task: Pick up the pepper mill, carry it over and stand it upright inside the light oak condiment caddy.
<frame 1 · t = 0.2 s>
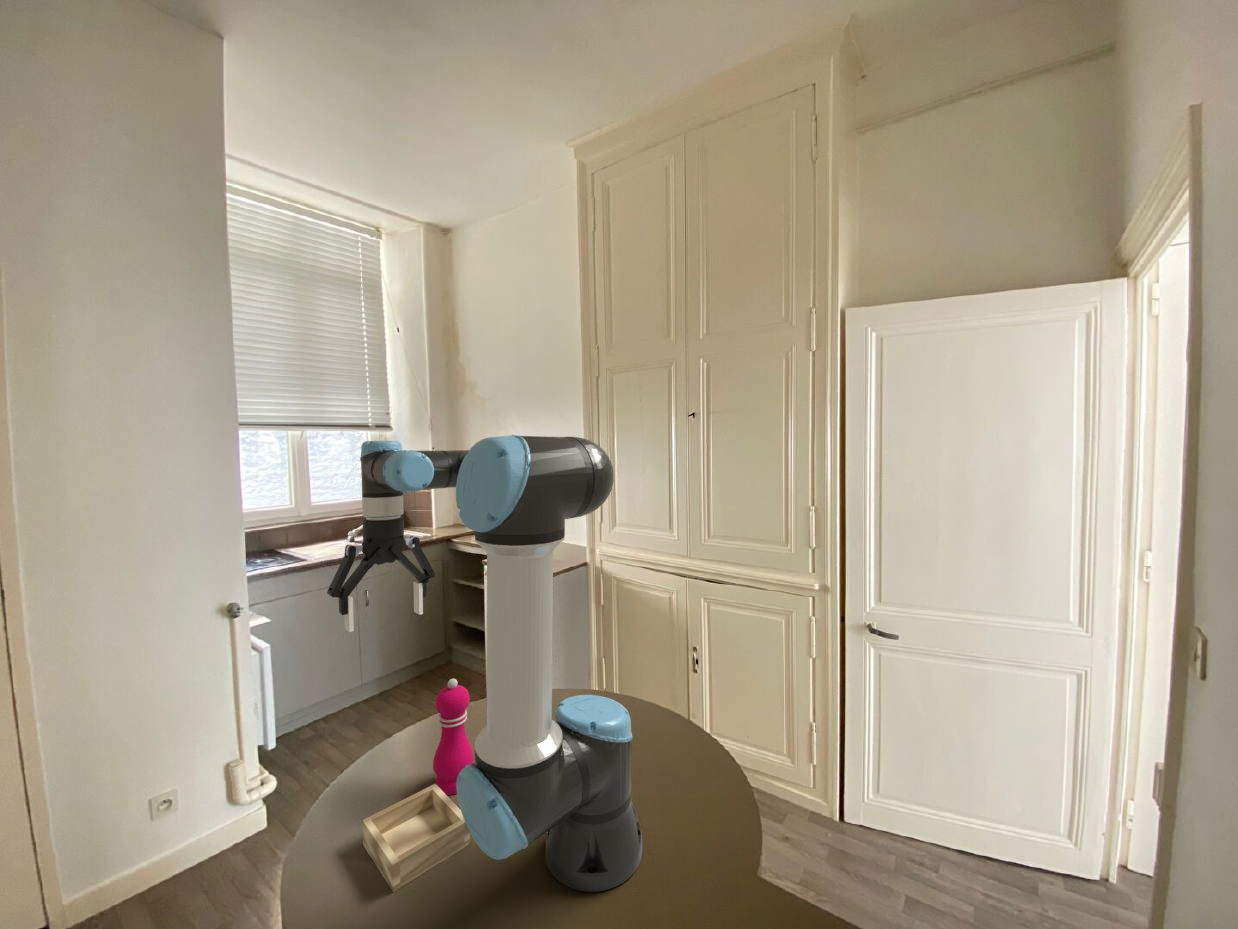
hand: (385, 621, 101), 28 cm above the table, fingers open, 13 cm apart
white egg-shaped pebble: (509, 814, 86), on the table
caddy: (416, 844, 79), on the table
pepper mill: (453, 784, 93), on the table
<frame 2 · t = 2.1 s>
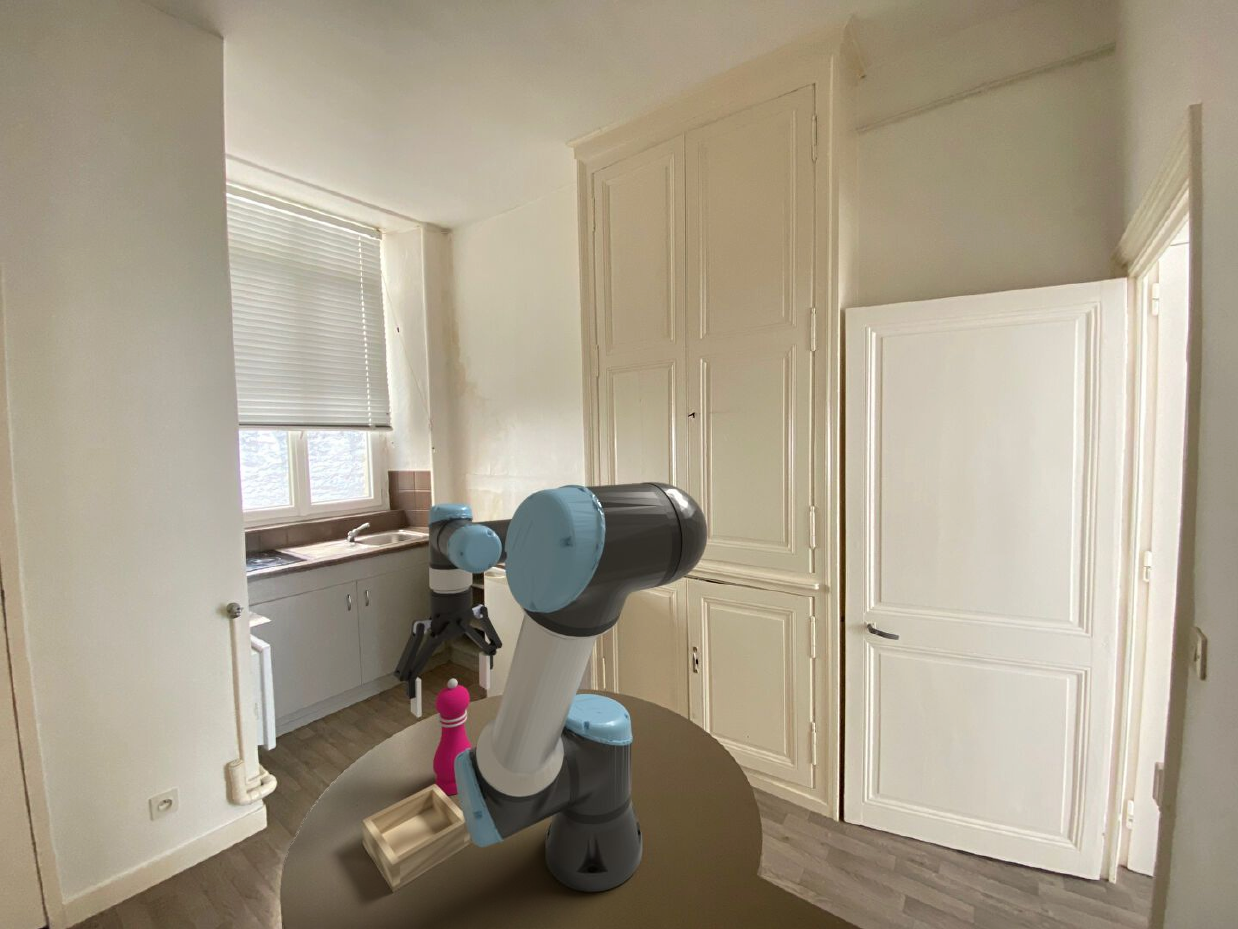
hand: (452, 699, 93), 16 cm above the table, fingers open, 13 cm apart
nothing on the table moved.
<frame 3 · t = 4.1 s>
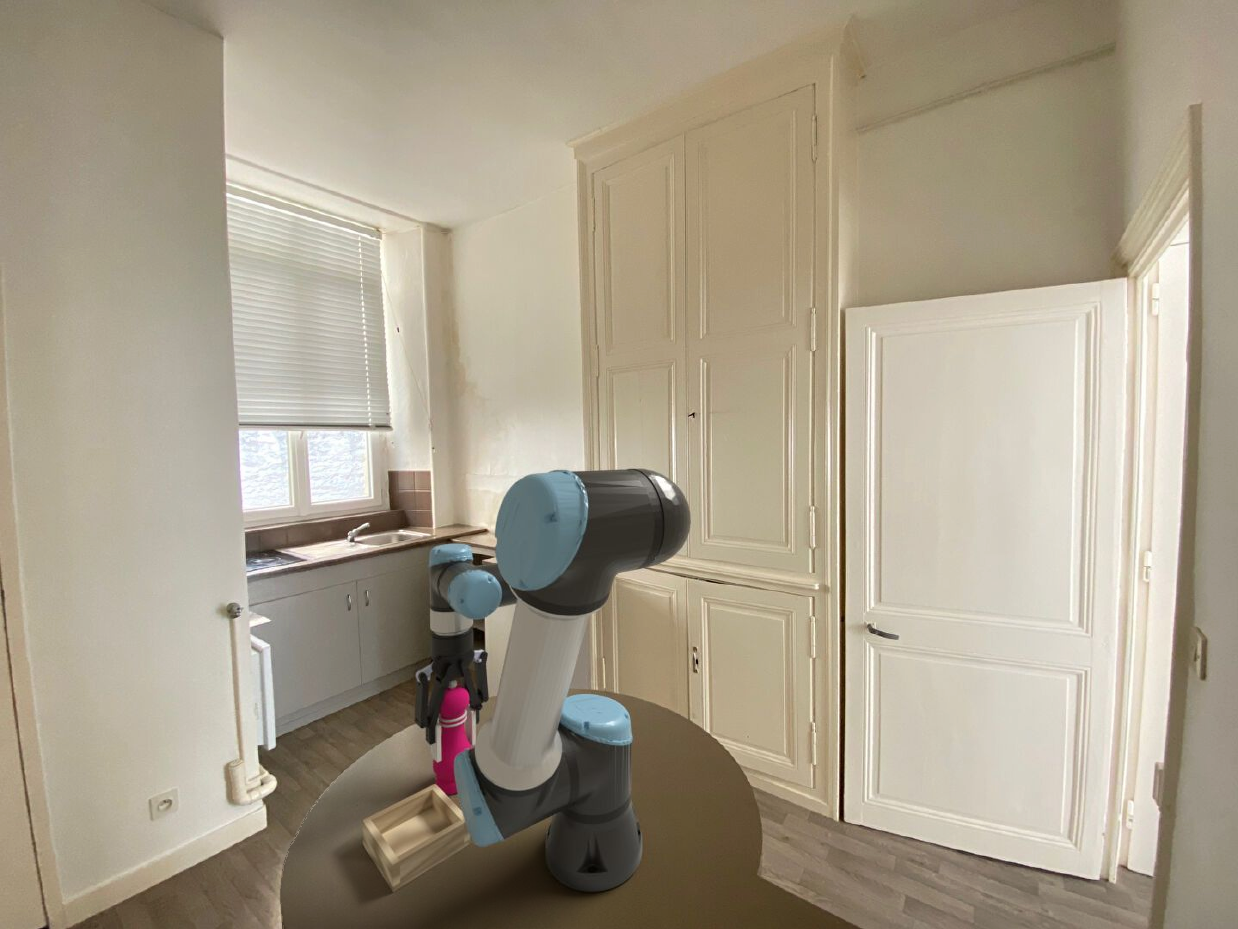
hand: (453, 749, 93), 6 cm above the table, fingers closed on pepper mill, 6 cm apart
pepper mill: (453, 784, 93), on the table, touching gripper
everything else where it was.
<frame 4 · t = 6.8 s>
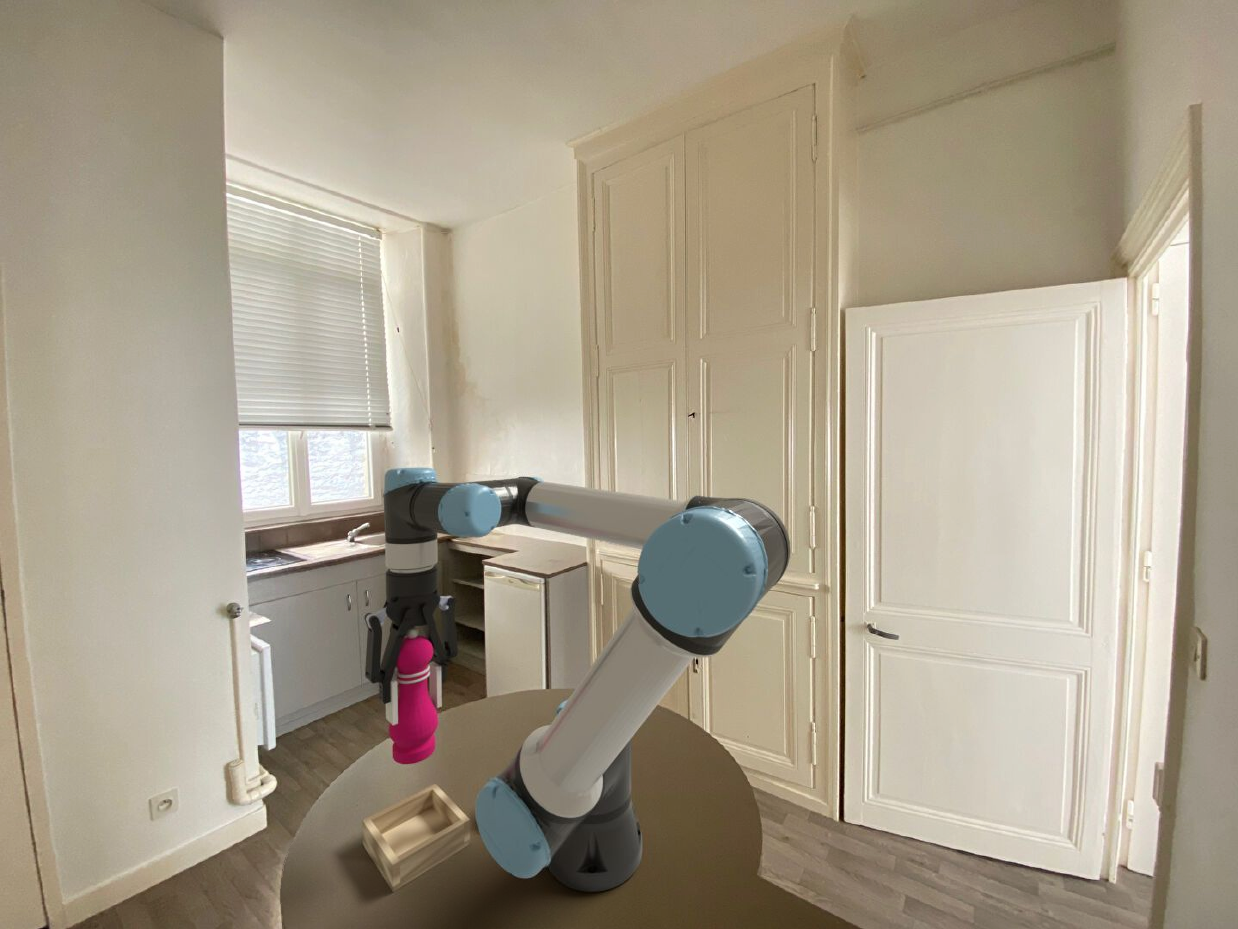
hand: (414, 712, 78), 22 cm above the table, fingers closed on pepper mill, 6 cm apart
pepper mill: (414, 753, 79), point 15 cm above the table, touching gripper
everything else where it was.
when the fingers open (9 cm above the table, at t = 9.7 s): pepper mill drops 2 cm, resting on caddy.
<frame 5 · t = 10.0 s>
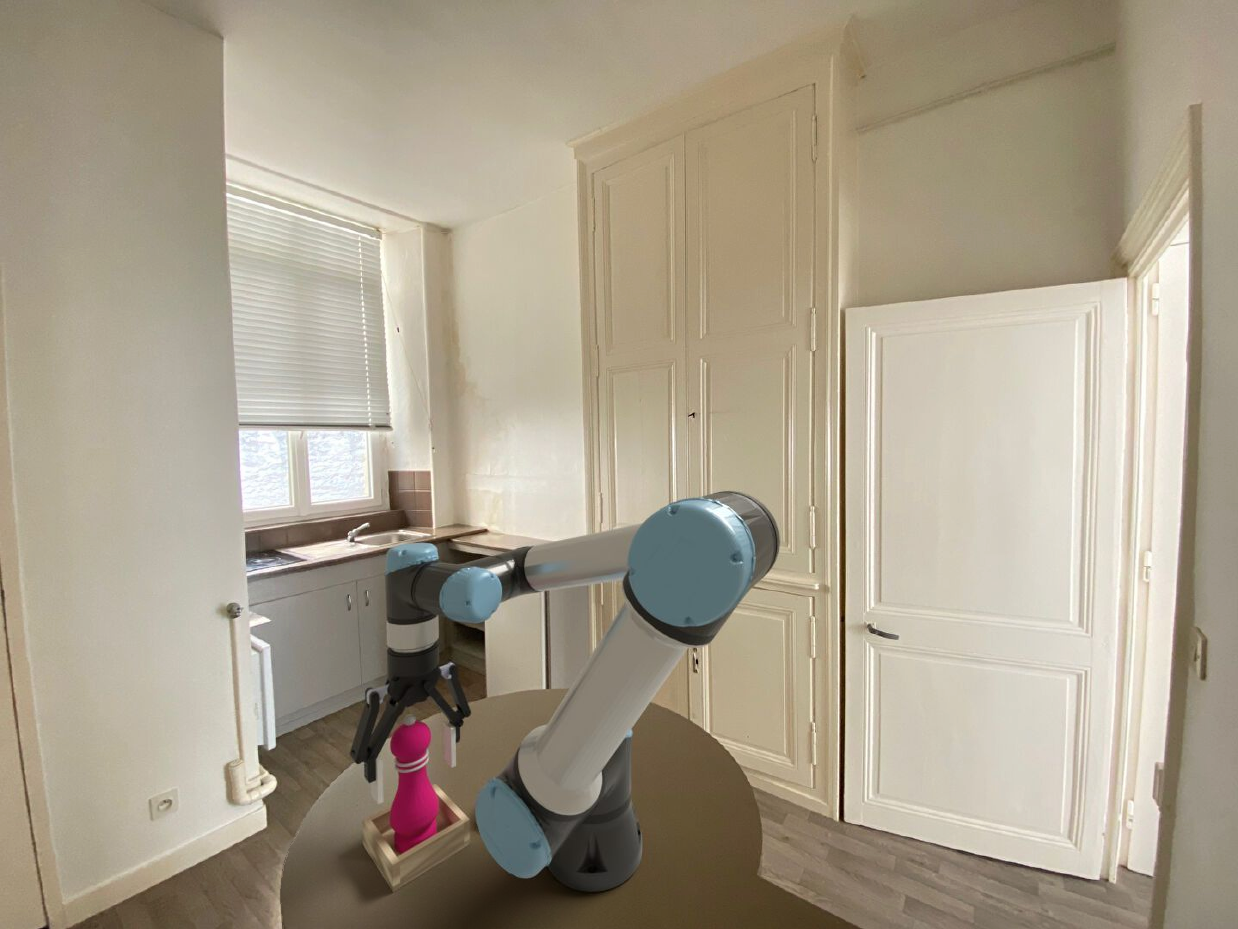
hand: (415, 780, 79), 10 cm above the table, fingers open, 11 cm apart
pepper mill: (416, 840, 79), point 1 cm above the table, touching caddy
everything else where it was.
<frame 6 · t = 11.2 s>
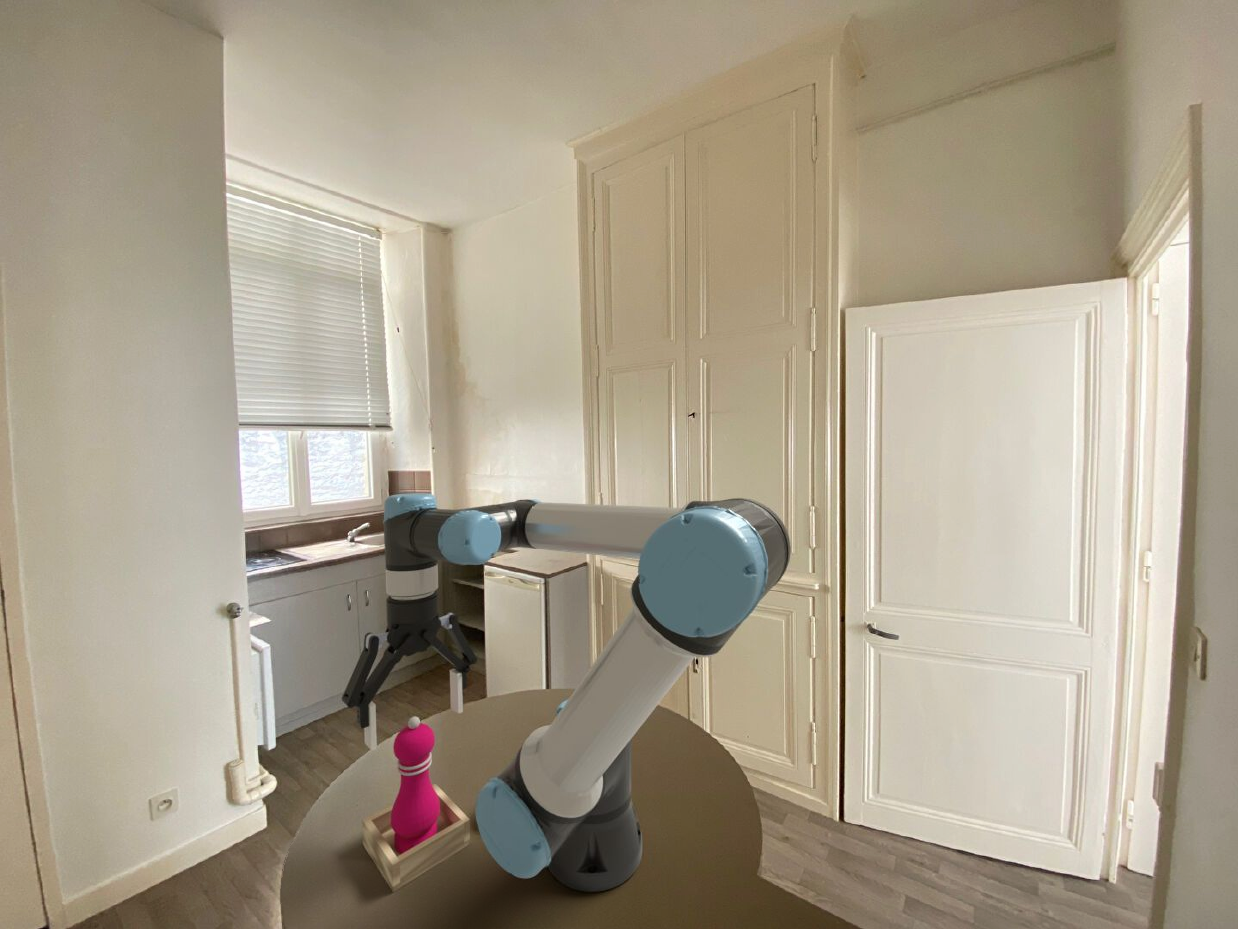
hand: (416, 727, 78), 19 cm above the table, fingers open, 13 cm apart
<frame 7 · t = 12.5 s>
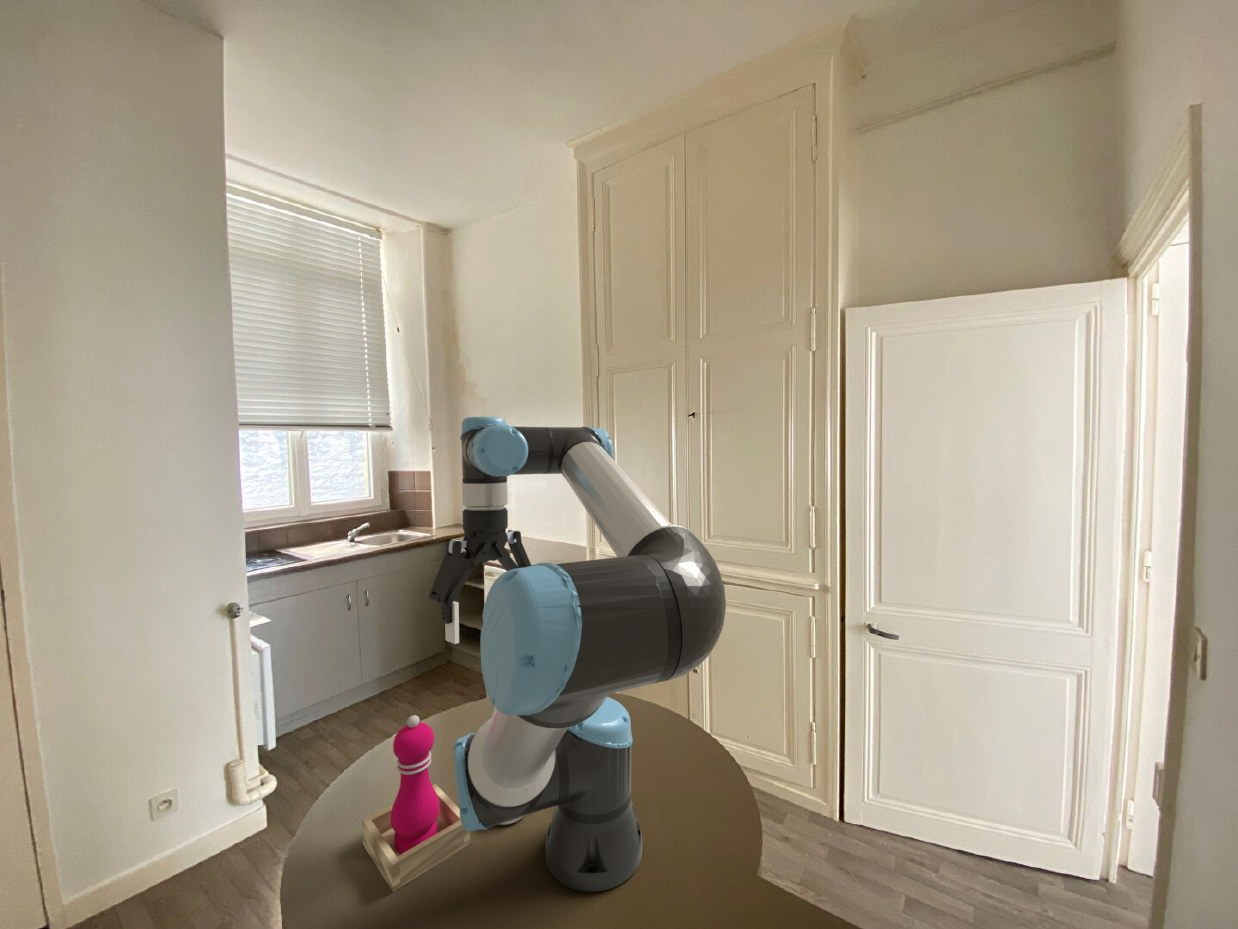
hand: (486, 629, 86), 32 cm above the table, fingers open, 13 cm apart
nothing on the table moved.
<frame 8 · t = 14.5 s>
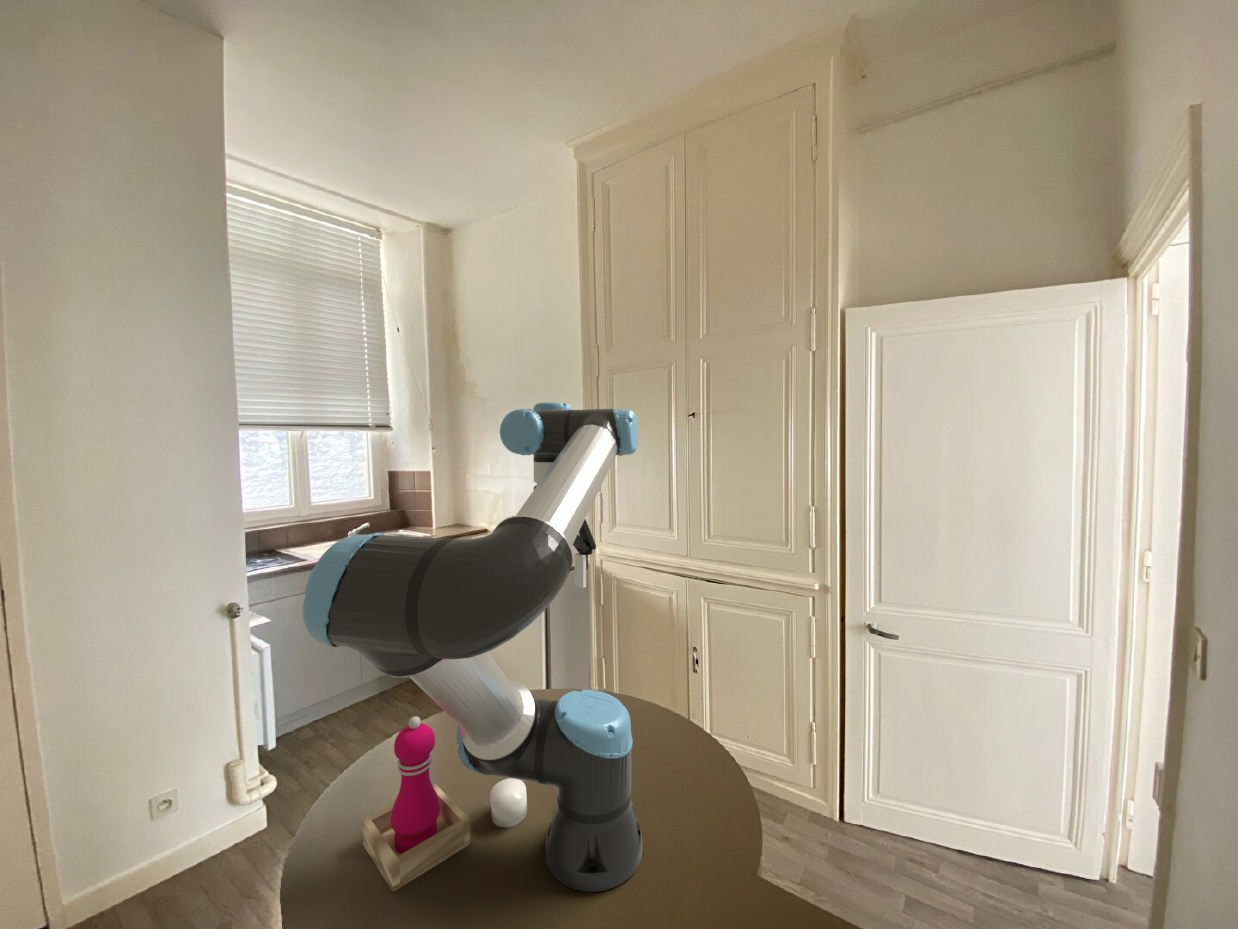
hand: (553, 593, 96), 35 cm above the table, fingers open, 13 cm apart
at the end: pepper mill inside the target area on the caddy (0.1 cm from its centre), point 0.6 cm above the caddy's base; pepper mill tilted 0°; pepper mill touching caddy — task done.
